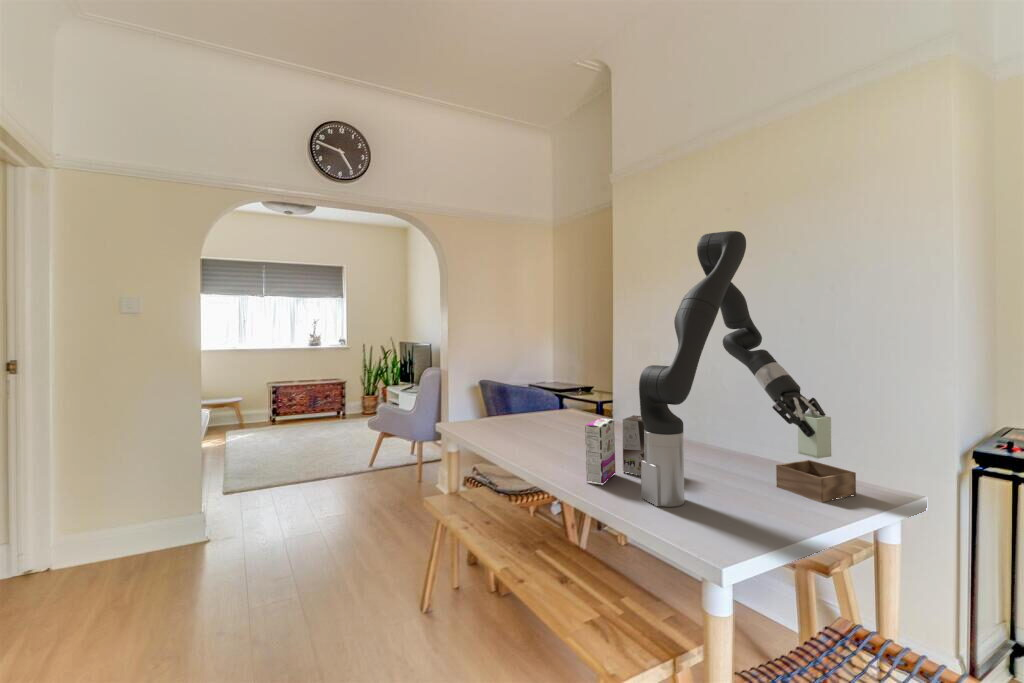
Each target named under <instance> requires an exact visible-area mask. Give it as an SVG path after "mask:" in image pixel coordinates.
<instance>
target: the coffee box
mask: <svg viewBox="0 0 1024 683" xmlns="http://www.w3.org/2000/svg"><path fill="white" fill-rule="evenodd" d="M642 460H644V423H643V421H642V418H641V415H634V414H633V415H631V416H629V417H625V418H623V419H622V472H623V471H624V472H629V473H633V474H637V475H641V461H642ZM637 475H636V476H637Z"/></svg>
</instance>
